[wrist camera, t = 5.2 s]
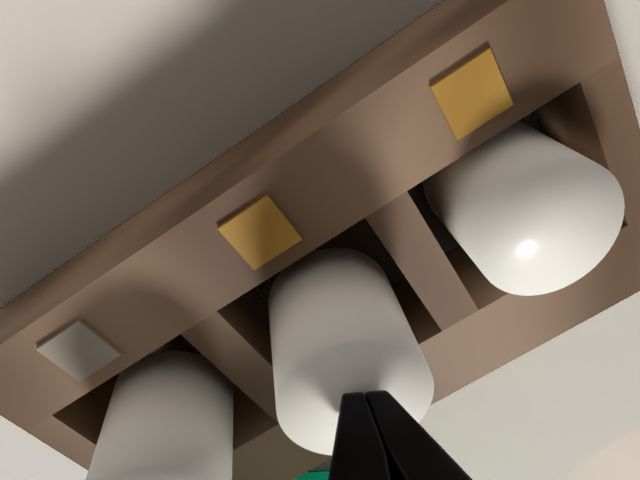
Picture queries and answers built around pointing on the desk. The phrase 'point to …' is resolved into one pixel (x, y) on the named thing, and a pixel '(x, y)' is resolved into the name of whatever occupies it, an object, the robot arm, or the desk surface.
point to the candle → (314, 476)
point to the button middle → (339, 344)
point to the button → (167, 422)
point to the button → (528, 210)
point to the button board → (335, 227)
